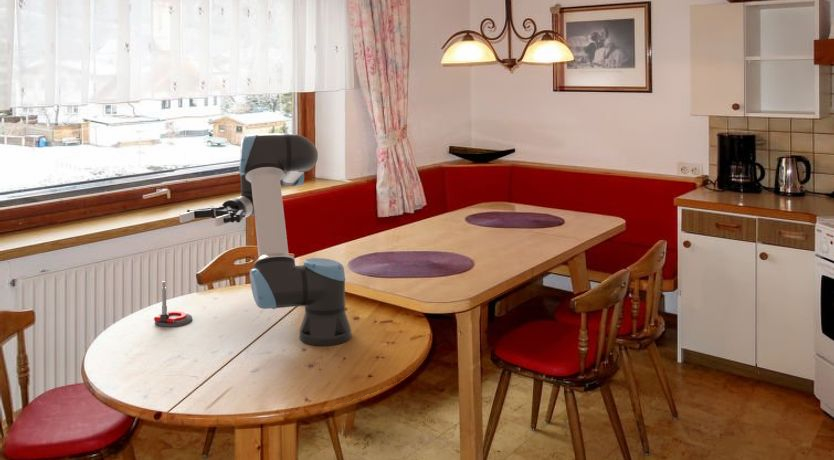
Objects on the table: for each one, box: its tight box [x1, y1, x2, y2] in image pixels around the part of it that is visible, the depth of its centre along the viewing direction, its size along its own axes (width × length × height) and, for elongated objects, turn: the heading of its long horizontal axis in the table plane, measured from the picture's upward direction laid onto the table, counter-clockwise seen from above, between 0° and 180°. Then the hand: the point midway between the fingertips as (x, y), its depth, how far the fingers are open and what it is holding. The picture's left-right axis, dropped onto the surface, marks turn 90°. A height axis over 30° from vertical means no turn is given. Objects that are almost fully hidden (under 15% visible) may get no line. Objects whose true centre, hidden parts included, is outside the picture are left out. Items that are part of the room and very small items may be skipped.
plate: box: [154, 313, 193, 328], centre depth 231 cm, size 11×11×1 cm
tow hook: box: [153, 280, 188, 323], centre depth 230 cm, size 8×13×9 cm
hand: (198, 220), depth 236 cm, fingers open, 13 cm apart
